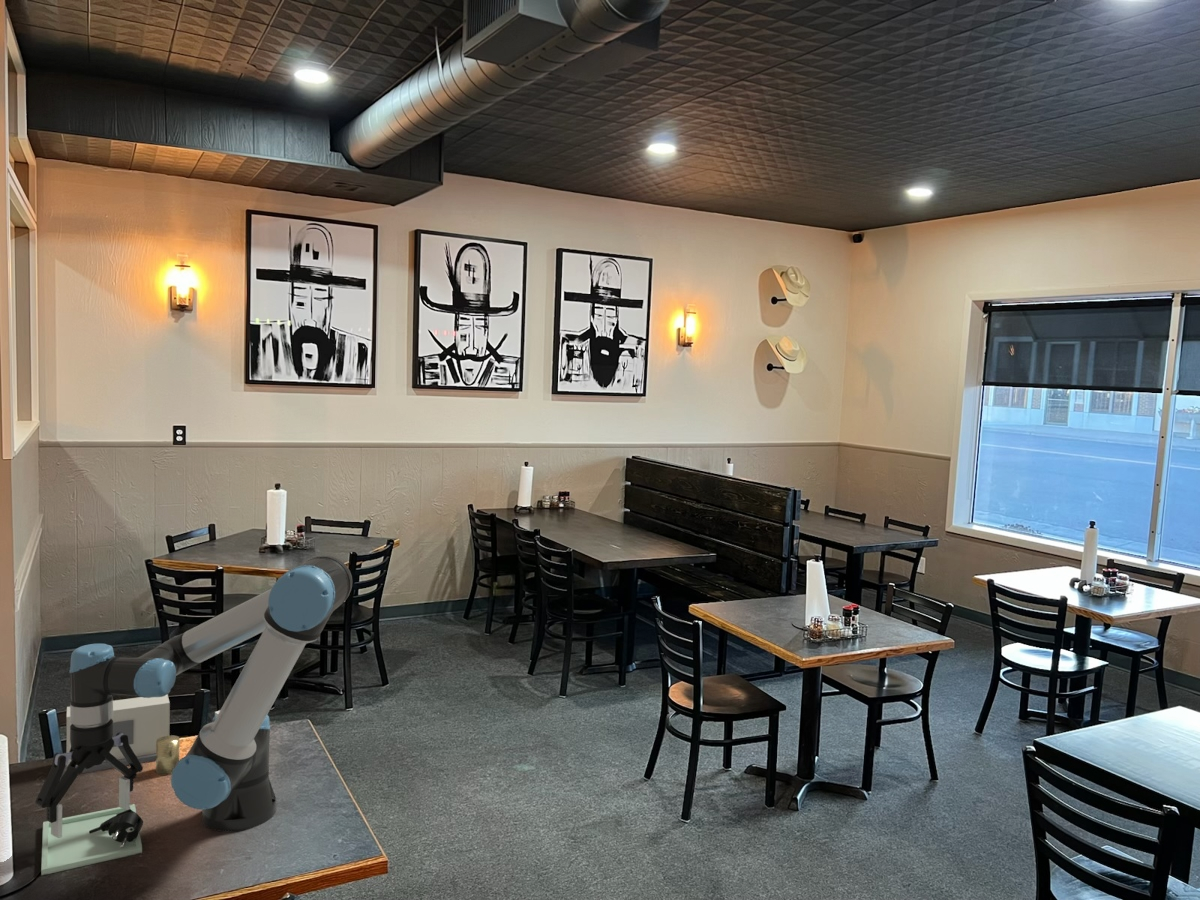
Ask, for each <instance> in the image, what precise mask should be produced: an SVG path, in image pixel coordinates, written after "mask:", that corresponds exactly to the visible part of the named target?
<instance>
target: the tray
mask: <svg viewBox="0 0 1200 900" xmlns="http://www.w3.org/2000/svg"><path fill="white" fill-rule="evenodd" d="M130 809H131V810H132V811H134V812H135V813H137V808H136V803H135V804H134V803H133V804H130ZM124 811H126V810H124V809H122V808H120V807H119V806H118V807H113V808H108V809H101V810H98V811H93V812H87V813H82V814H77V815H76V814H75V815H72V816H67V817H62V837H60V838H57V837H55V836H53V835H52V834H51V823H50V822H49V821H47V820H46V821H43V823H42V842H41V843H42V844H41V865H40V866H41V870H40V872H41V875H40V876H42V877H43V876H46V875H51V874H53V873H59V872H63V871H67V870H72V869H73V870H74V869H77V868H81V867H85V866H89V865H94V864H99V863H104V862H107V861H108V862H109V861H112V860H116V859H121V858H125V857H130V856H134V855H138V854H142V853H143V844H142V838H141V833H140V832H139V834H138V836H137V838H135V839H134V840H133V841H131V842H128V841H127V842H126V844H125V846H124V847H123V848H121V847H120V845H121V843H122V842H118V841H115V840H113V839H112V837H113V835H111V836H109V833H108V831H102V830H99V831H96V832H94V833H91V834H90V833H89V831H90V830H92V829H95V828H98V827H100V825H101V824H102V823H103V822H105V821H107V820H109V819H110V818H112V817H114V816H116V815H117V814H118V813H121V812H124Z"/></svg>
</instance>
